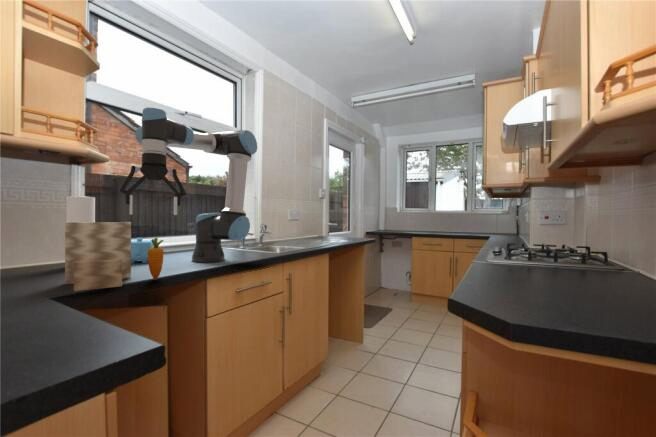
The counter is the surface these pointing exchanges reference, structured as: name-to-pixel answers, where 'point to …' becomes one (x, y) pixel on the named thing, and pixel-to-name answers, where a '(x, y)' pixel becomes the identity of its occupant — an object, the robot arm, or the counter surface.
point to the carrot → (155, 258)
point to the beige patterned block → (97, 254)
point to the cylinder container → (80, 209)
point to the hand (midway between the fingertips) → (153, 214)
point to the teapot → (140, 250)
